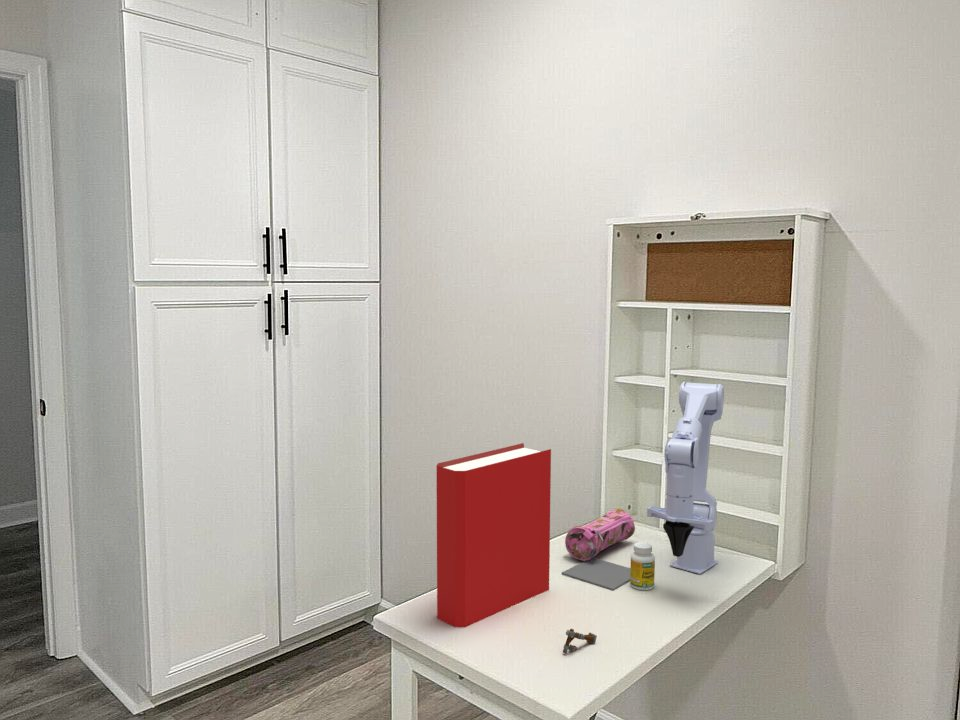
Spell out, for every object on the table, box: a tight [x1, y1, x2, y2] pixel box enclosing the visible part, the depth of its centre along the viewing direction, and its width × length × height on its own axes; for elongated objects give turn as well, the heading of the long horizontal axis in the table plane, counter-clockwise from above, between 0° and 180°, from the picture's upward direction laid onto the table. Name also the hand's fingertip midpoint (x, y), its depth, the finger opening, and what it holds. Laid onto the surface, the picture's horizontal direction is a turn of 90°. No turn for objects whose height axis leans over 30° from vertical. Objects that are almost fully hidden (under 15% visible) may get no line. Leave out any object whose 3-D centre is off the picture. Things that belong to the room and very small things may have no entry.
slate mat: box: [561, 556, 631, 591], centre depth 186 cm, size 13×14×1 cm
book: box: [436, 442, 552, 628], centre depth 168 cm, size 27×8×32 cm, turn 135°
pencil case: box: [564, 507, 636, 562], centre depth 200 cm, size 21×9×9 cm, turn 142°
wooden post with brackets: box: [562, 628, 598, 654], centre depth 150 cm, size 2×8×4 cm, turn 130°
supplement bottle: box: [629, 541, 656, 591], centre depth 178 cm, size 5×5×10 cm
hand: (677, 555), depth 172 cm, fingers closed
